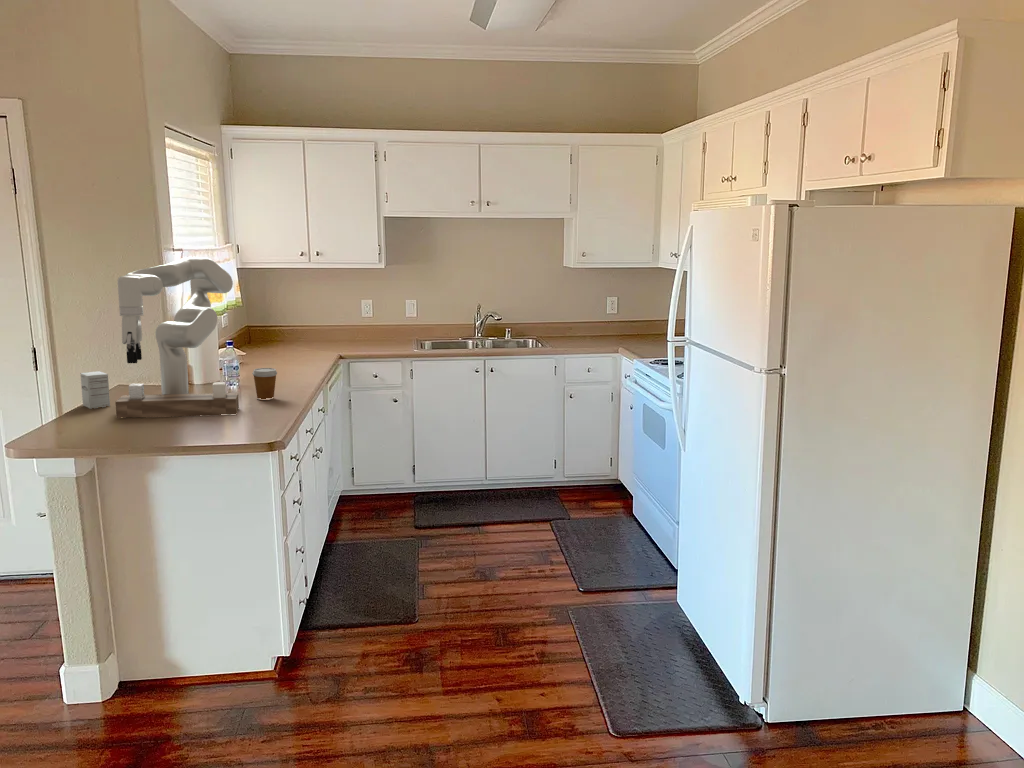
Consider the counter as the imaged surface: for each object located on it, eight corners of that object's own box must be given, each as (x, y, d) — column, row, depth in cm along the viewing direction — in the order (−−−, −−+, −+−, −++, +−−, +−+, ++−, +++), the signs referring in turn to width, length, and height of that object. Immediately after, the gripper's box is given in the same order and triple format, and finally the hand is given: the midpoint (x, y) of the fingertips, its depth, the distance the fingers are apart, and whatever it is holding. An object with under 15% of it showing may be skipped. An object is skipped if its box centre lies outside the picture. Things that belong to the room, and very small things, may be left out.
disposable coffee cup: (270, 402, 301) (269, 372, 299) (248, 400, 303) (247, 370, 300) (282, 397, 310) (281, 368, 308) (260, 395, 312) (260, 367, 310)
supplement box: (82, 405, 285) (79, 372, 282) (103, 403, 290) (101, 370, 288) (89, 409, 280) (86, 375, 277) (110, 406, 285) (108, 373, 283)
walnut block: (123, 411, 278) (122, 395, 277) (238, 408, 289) (238, 392, 288) (116, 418, 268) (115, 401, 267) (236, 414, 278) (235, 399, 277)
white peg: (214, 396, 282) (213, 382, 281) (226, 396, 283) (225, 382, 282) (213, 399, 278) (212, 384, 277) (225, 398, 279) (224, 384, 278)
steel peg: (131, 398, 275) (130, 383, 274) (144, 398, 276) (143, 383, 275) (129, 401, 271) (128, 385, 270) (142, 400, 272) (141, 385, 271)
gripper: (125, 308, 274) (128, 357, 278) (113, 313, 258) (117, 365, 261) (147, 309, 276) (150, 357, 280) (137, 314, 260) (141, 365, 263)
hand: (134, 360), depth 271 cm, fingers open, 6 cm apart
